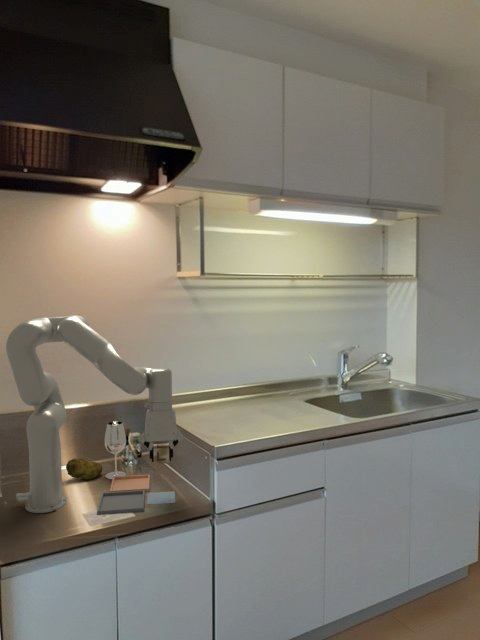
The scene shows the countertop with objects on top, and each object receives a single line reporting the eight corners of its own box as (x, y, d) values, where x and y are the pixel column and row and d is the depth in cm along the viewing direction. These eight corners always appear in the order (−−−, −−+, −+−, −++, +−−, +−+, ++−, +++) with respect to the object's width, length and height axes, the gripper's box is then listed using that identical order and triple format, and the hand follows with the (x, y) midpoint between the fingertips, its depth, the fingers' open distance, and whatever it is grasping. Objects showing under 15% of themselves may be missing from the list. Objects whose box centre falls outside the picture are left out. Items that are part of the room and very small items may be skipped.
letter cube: (153, 464, 161) (153, 448, 161) (153, 458, 166) (153, 444, 166) (169, 463, 162) (169, 448, 162) (168, 458, 167) (168, 443, 167)
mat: (147, 506, 160) (147, 504, 160) (147, 494, 169) (147, 493, 169) (175, 504, 161) (175, 502, 161) (174, 493, 170) (174, 491, 170)
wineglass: (120, 470, 191) (119, 419, 190) (130, 476, 185) (129, 423, 184) (101, 475, 186) (100, 422, 184) (111, 481, 180) (110, 427, 179)
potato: (104, 480, 181) (103, 458, 181) (66, 485, 177) (66, 463, 176) (101, 472, 189) (101, 451, 189) (65, 477, 184) (65, 455, 184)
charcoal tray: (97, 515, 153) (97, 511, 153) (102, 497, 167) (102, 492, 167) (143, 512, 155) (143, 508, 155) (144, 494, 169) (144, 490, 169)
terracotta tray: (110, 495, 168) (110, 491, 168) (113, 480, 181) (113, 476, 181) (149, 492, 170) (149, 488, 170) (149, 478, 183) (149, 474, 183)
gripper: (133, 409, 158) (134, 465, 159) (187, 407, 161) (188, 462, 162) (134, 404, 165) (135, 457, 167) (186, 402, 168) (186, 454, 169)
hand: (161, 459), depth 164 cm, fingers closed on letter cube, 4 cm apart
